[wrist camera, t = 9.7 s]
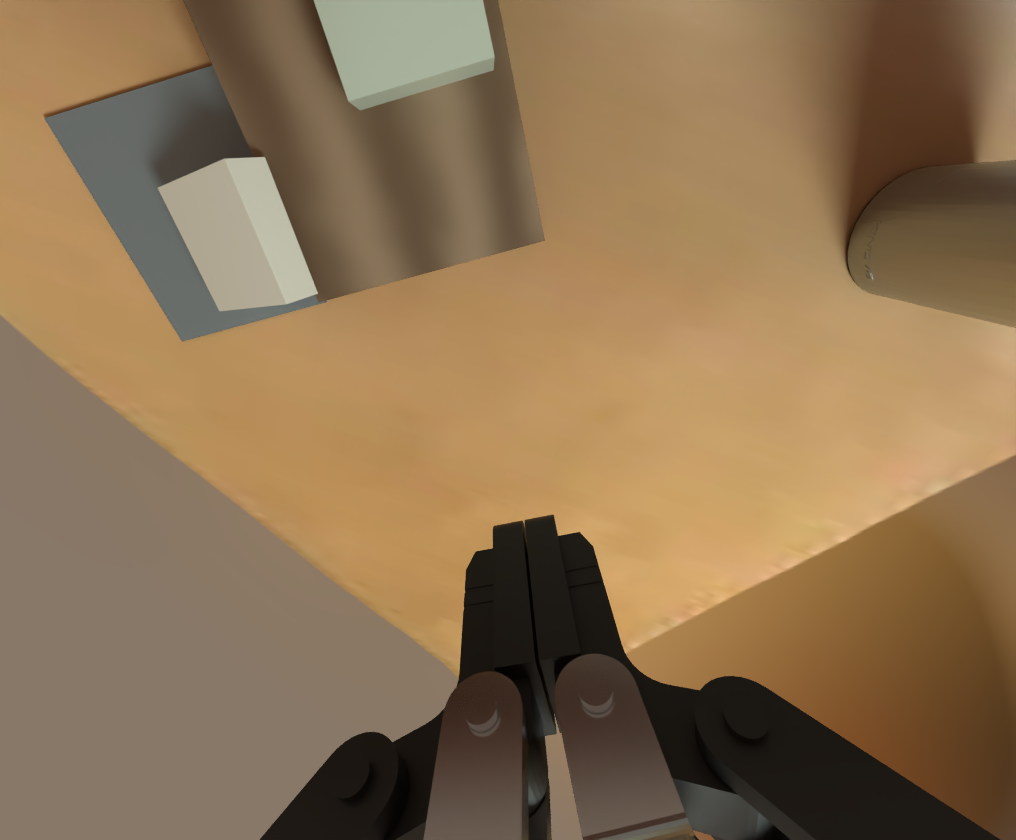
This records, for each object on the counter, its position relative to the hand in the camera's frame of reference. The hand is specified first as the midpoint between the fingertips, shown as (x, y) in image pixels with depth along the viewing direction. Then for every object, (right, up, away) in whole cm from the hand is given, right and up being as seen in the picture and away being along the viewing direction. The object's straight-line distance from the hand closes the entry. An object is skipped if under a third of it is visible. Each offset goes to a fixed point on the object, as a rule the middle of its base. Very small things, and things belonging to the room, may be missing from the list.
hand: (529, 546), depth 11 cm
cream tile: (-17, +15, +18) cm, 30 cm away
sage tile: (-6, +26, +12) cm, 29 cm away
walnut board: (-8, +23, +18) cm, 30 cm away
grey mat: (-22, +17, +20) cm, 35 cm away
